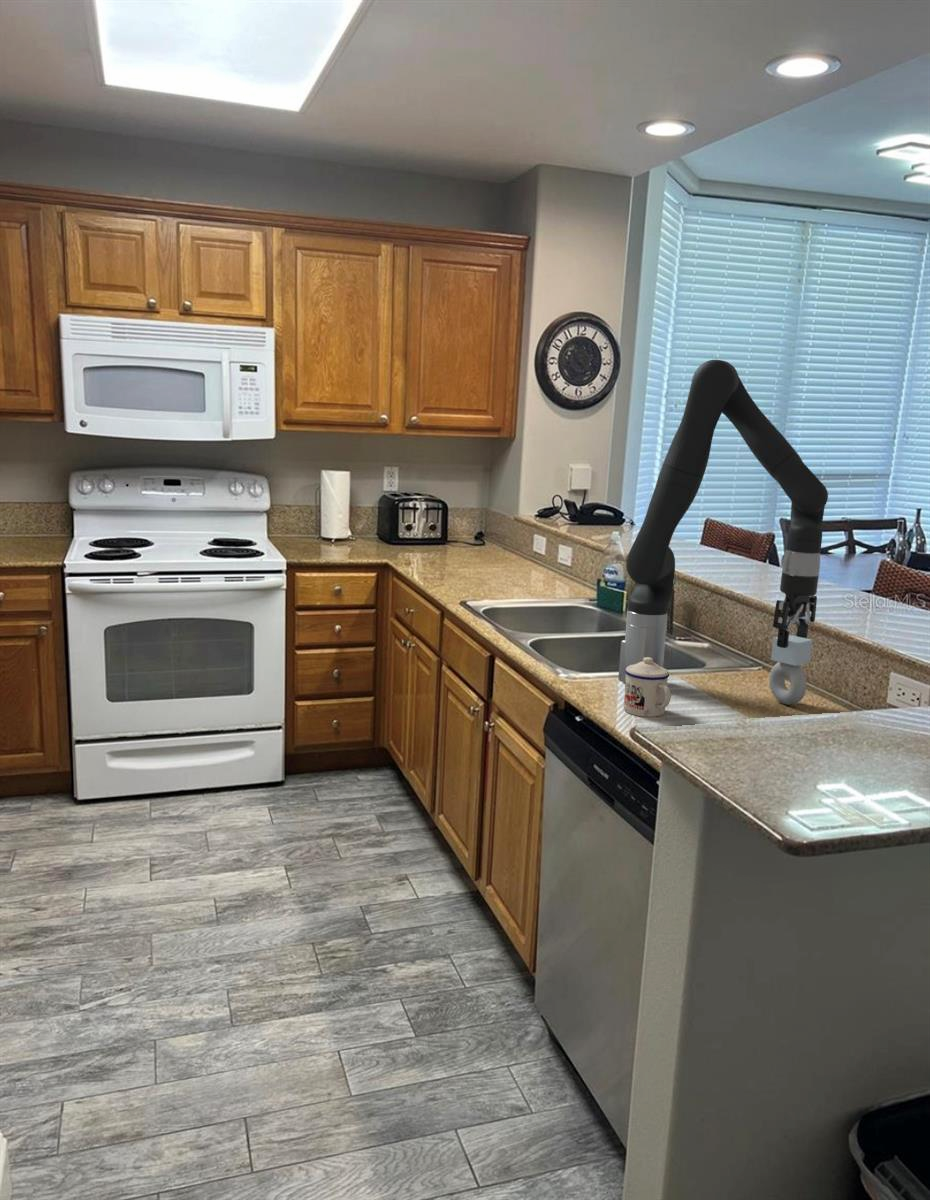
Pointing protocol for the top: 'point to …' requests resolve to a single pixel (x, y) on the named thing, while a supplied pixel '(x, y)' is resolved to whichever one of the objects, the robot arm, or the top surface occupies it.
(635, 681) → the teacup with lid
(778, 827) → the top surface
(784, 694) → the donut
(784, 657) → the gray block
